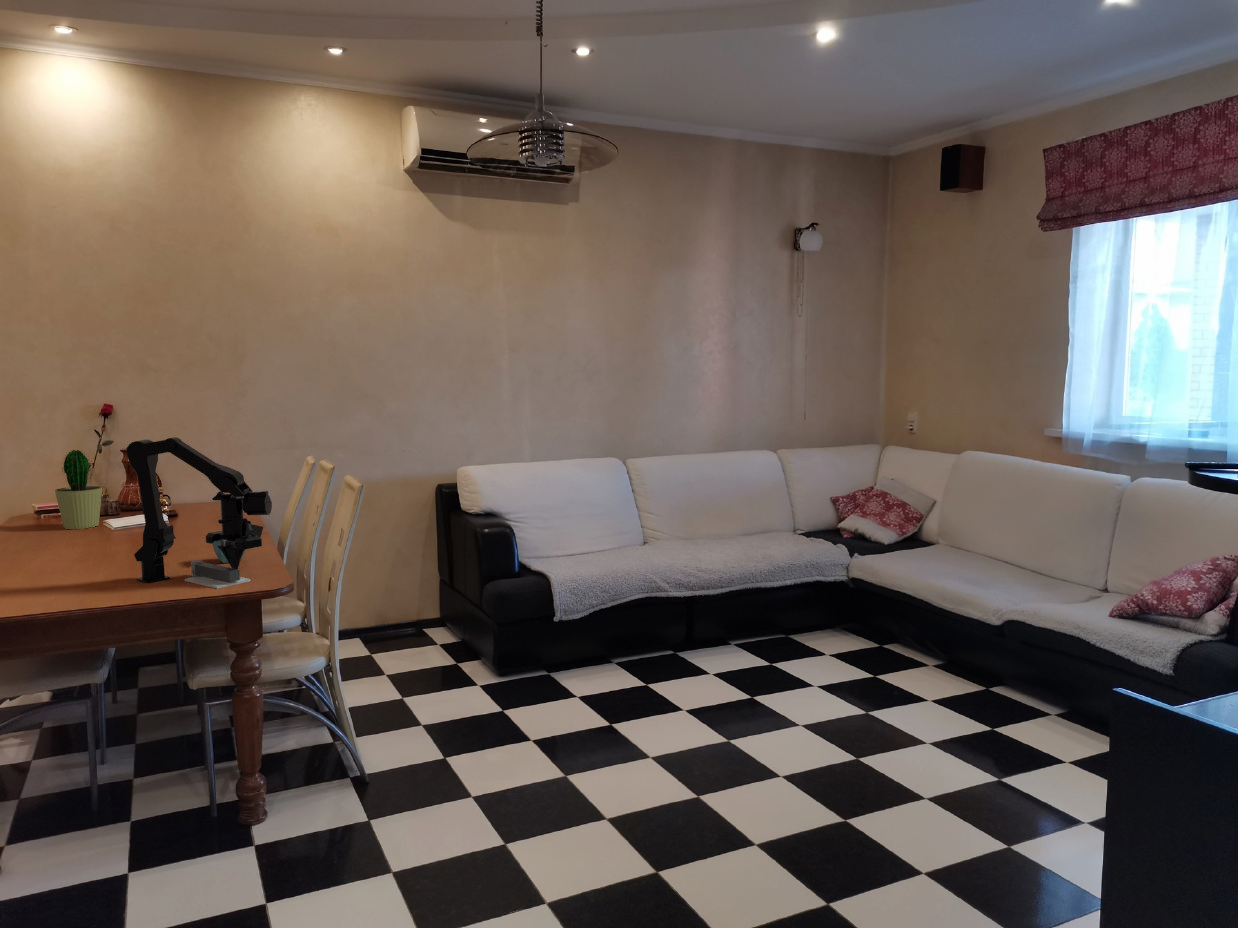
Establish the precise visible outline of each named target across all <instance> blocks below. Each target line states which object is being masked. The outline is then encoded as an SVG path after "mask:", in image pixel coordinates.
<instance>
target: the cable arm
mask: <svg viewBox="0 0 1238 928" xmlns="http://www.w3.org/2000/svg"><path fill="white" fill-rule="evenodd" d="M190 568H191V570H190V571H191V574H197V575H201V576H206V577H210V578H215V579H219V580H224V581H228V582H232V581H237V580H240V577H241V575H240V569H239V568H238V569H233V568H231V567H228V566H222V565H218V564H214V563H208V562H203V560H199V559H198V560H192V561H191V562H190Z"/></svg>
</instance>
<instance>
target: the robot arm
mask: <svg viewBox="0 0 1238 928" xmlns="http://www.w3.org/2000/svg"><path fill="white" fill-rule="evenodd" d="M125 453H126V456H127V459H128V462H129V464H130V466H131V467H132V469H133V470H134V472H135V473H136V476H137V482H138V489H139V493H140V500H141V507H142V510H143V511H142V512H143V517H144V527H143V528H144V529H143V533H142V546H141V547H140V548H139V549H138V550H137V551H136V552H135V553H134V554H133V556H134V559H135V560H136V562H140V566H141V567H140V568H141V577H137V578H136V581H139V582H143V583H149V584H150V583H154V582H159V581H164V580H165V581H166V580H169V579H171V576H170V575H165V574H166V573H165V572H166V571H165V562H164V560H165V559H164V556H167V555H168V552H169V550H170V549H171V548H172V546H173V545H174V543H175V540H176V538H177V537H176V536H175V532H174V525H173V524H169V525H168V524H167V522H166V521H165V518H164V514H163V509H162V502H161V495H160V490H159V484H158V479H157V474H156V470H157V465H158V463H159V455H160V454H166V453H169V454H172V455H173V456H174V457H177V459H179V460H180V461H182V462H184V463H186V464H187V465H189V466H191V467H192V468H193V469H194V470H196V471H198V472H199V473H201V474H202V475H204V476H205V477H206V478H207V479H208V480H209V481H210V482H211V485H213V486H214V487H216V489H217V490H219V491H218V492H217V493H216V495H215V496H213V497H212V501H220V514H221V515H220V517H221V518H220V519H218V520H217V521H218V524H221V530H218V531H212V532H207V533H206V535H205V543H206V544H211V545H213V544H212V543H214V541H220V546H218V548H220V550H221V551H222V553H223V554H224V556H225V557H226V559H227V561H228V564H229V566H230V568H233V569H238V570H239V566H240V562H241V561H240V560H242V559H241V556H242V554H243V551H244V550H245V551H246V550H250V549H255V548H256V549H257V548H260V547H262V546H263V538H262V534H263V531H264V526H262V525H257V524H252V522H251V520H248V518H247V517H244V514H246V515H247V516H270V514H271V512H272V507H273V503H272V500H271V496H270V495H269V491H268V490H262V491H261V490H260V491H253V490H252V488H251V487H250V486H249V485H248V484H247V482H246V481H245V478H244V475H243V474H242V472H240V471H239V470H236V469H233V468H231V467H229V466H225V465H223V464H219V463H217V462H215V461H214V460H212V459H211V458H209V457H208V456H206V455H205V454H203V453H202V452H200V451H198V450H196V449H195V448H193V447H192V446H190V445H189V444H187V443H186V442H184V441H183V440H182V439H181V438H180V437H176V436H175V437H168V438H166V439H163V440H156V441H153V440H151V439H140V440H136V441H135V440H134V441H131V442H130V443H129V444H128V445H127V446H126V450H125Z"/></svg>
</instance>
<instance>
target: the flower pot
mask: <svg viewBox="0 0 1238 928" xmlns="http://www.w3.org/2000/svg"><path fill="white" fill-rule="evenodd" d="M211 545H212V547H213V551H214V554H215V555H216V556H217V559H219V561H220V562H221V563H223V564H227V563H228V564H229V562H228V561H227V559H226V557H225V556H224V554H223V553H222V551H221V550H220V548H218V546H220V541H214V543H212V544H211ZM245 552H246V549H245V550H244V551H243V554H242V556H241V560H242V559H243V557H244V555H245ZM241 560H240V562H241Z"/></svg>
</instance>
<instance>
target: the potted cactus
mask: <svg viewBox="0 0 1238 928" xmlns="http://www.w3.org/2000/svg"><path fill="white" fill-rule="evenodd" d="M83 451H84V450H78V449H73V450H71V451H68V453H66V455H64V457H62V459H63V460H62V461H61V462H62V463H63V464H62V465H61V469H63V474H65V477H66V482H65V484H66V483H67V485H68V487H61V488H56V489H55V490H54V492H55V497H56V502H57V505H58V509H59V513H60V518H61V521H62V526H63V529H64V528H65V529H64V530H66V529H80V530H84V529H83V528H88V527H95V526H98V525H100V515H101V503H102V502H101V501H102V493H103V490H102V489H103V486H100V485H88V484H89V482H88V480H90V477H89V476H90V473H91V472H90V470H91V467H92V464H91V463H93V462H91V463H89V460H88V458H87V456H86V455H87V454H85V452H83ZM98 527H99V526H98ZM95 528H96V527H95Z"/></svg>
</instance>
